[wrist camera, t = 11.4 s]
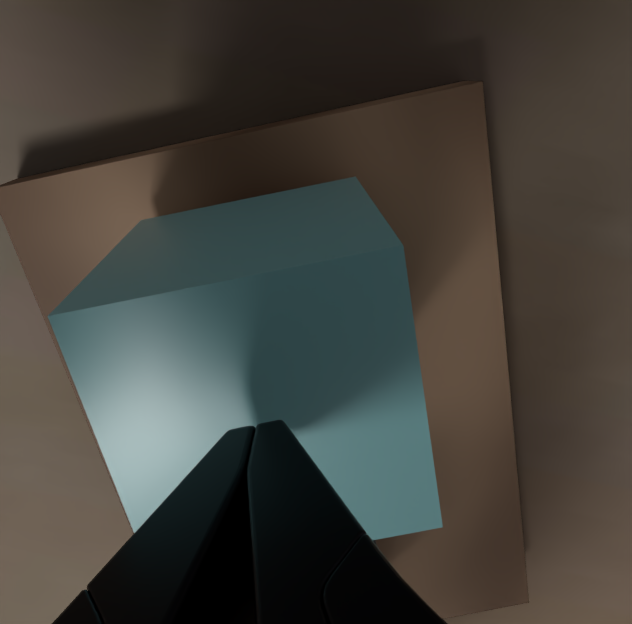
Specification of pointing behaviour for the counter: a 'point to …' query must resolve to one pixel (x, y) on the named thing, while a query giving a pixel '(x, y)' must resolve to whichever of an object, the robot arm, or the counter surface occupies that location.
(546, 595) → the counter surface
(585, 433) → the counter surface
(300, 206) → the pale teal cube
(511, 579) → the board
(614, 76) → the counter surface
